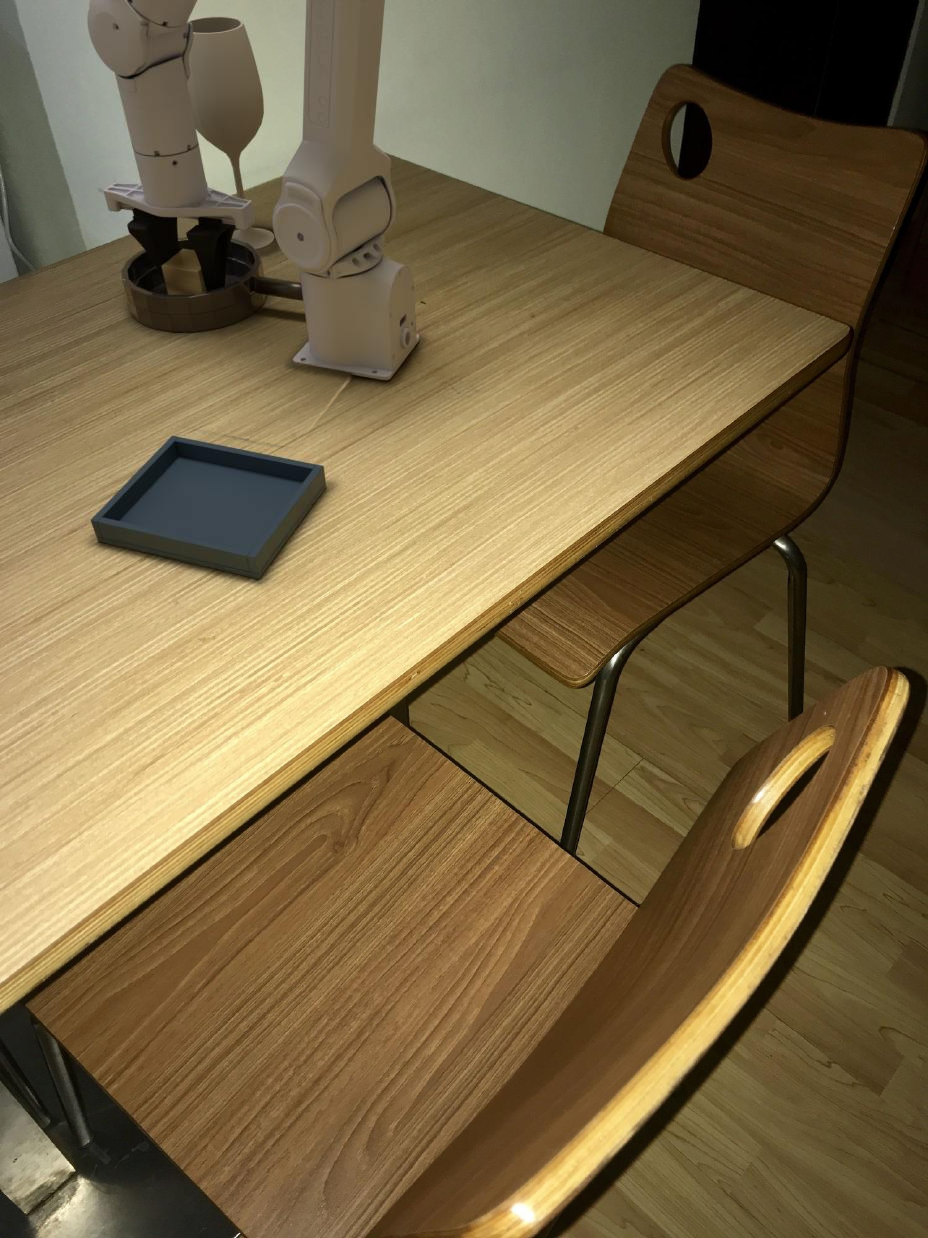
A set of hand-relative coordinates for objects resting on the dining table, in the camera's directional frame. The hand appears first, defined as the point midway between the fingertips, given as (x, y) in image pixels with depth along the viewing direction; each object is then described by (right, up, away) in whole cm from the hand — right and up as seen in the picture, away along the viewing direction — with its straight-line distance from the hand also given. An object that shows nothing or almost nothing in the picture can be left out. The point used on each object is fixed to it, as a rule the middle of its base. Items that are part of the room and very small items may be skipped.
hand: (197, 289), depth 97 cm
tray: (+7, -24, -23) cm, 34 cm away
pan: (0, -1, +1) cm, 1 cm away
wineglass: (+3, +9, +11) cm, 14 cm away
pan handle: (+10, -2, -3) cm, 10 cm away
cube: (0, -1, +1) cm, 1 cm away
